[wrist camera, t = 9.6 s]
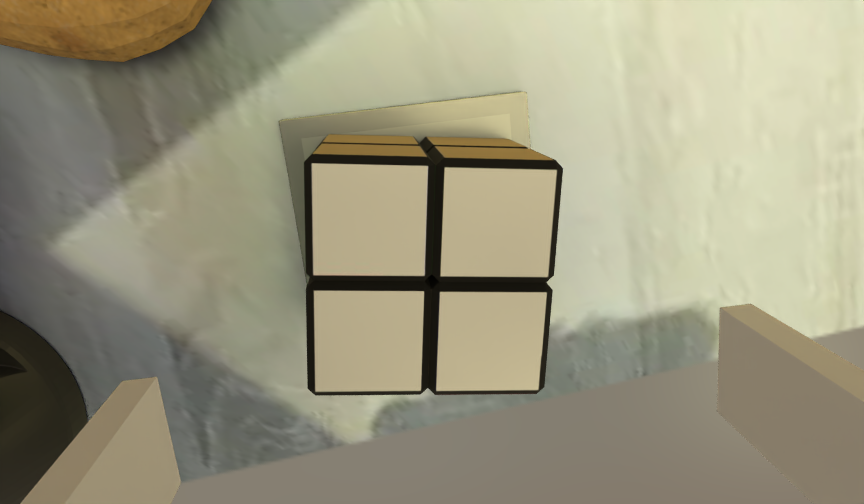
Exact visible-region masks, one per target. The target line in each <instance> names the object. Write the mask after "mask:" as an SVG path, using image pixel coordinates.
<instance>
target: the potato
mask: <svg viewBox="0 0 864 504" xmlns="http://www.w3.org/2000/svg"><path fill="white" fill-rule="evenodd" d="M211 1H212V0H0V44H2V45H6V46H11V47H15V48H20V49H24V50H29V51H33V52H38V53H42V54H47V55H54V56H61V57H69V58H76V59H88V60H102V61H116V62H124V61H127V60H130V59H133V58H136V57H139V56H142V55H145V54H147V53H150V52H153V51H156V50H159V49H161V48H163V47H165V46H167V45H168V44H170V43H171V42H173V41H175V40H176V39H178V38H180V37H181V36H183V35H185V34H186V33H188V32H190V31H191V30H193V29H195V27H196V25H197V24H198V22H199V21H200V19H201V17H202V16H203V14H204V13H205V11H206V9H207V8H208V6H209V5H210V3H211Z"/></svg>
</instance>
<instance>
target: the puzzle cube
mask: <svg viewBox="0 0 864 504" xmlns="http://www.w3.org/2000/svg"><path fill="white" fill-rule="evenodd" d="M562 173H563V168H562V167H561V166H560V165H559V164H558V162H557V161H556V160H554V159H552V158H550V157H547V156H545V155H543V154H541V153H538V152H536V151H534V150H532V149H528V148H527V147H526V146H524V145H521V144H519V143H517V142H514V141H512V140H510V139H503V138H461V137H425V138H424V139H423V140H422V141H421V142H420V143H419V142H418V141H417V140H416V139H415V138H414V137H413V136H379V135H338V134H329V135H328V136H326V137H325V138H324V139H323V140H322V142H321V143H320V144H319V145H318V147H317V148H316V149H315V151H314V152H313V153H312V154H311V155H310V156H309V157H308V158H307V159H306V160H305V161H304V204H305V262H306V274H307V275H308V276H309V277H310V278H309V281H308V284H307V287H306V316H307V374H308V389H309V390H310V391H311V392H312V393H313V394H315V395H413V394H421V393H422V392H424V391H425V390H426V389H427V388H429V389H430V390H431V391H432V392H433V393H434V394H435V395H462V394H537V393H538V392H539V391H540V390H541V389H543V388H544V384H545V373H546V361H547V349H548V337H549V326H550V314H551V302H552V289H551V288H550V286H549V285H548V284H547V283H546V282H547V281H548V280H549V279H550V278H551V277H552V276H554V267H555V255H556V243H557V232H558V220H559V208H560V197H561V185H562Z"/></svg>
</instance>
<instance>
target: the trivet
mask: <svg viewBox="0 0 864 504" xmlns="http://www.w3.org/2000/svg"><path fill="white" fill-rule="evenodd" d="M279 125H280V131H281V136H282V142H283V148H284V154H285V160H286V165H287V171H288V177H289V183H290V189H291V195H292V200H293V206H294V212H295V218H296V224H297V230H298V235H299V241H300V247H301V253H302V259H303V264H304V270H305V276H306V282H307V284H308V281H309V278H310V277H309V276H308V275H307V274H306V262H305V204H304V161H305V160H306V159H307V158H308V157H309V156H310V155H311V154H312V153H313V152H314V151H315V149H316V148H317V147H318V145H319V144H320V143H321V142H322V140H323V139H324V138H325V137H326V136H328V135H329V134H338V135H379V136H413V137H414V138H415V139H416V140H417V141H418V142H419V143H420V142H421V141H422V140H423V139H424V138H425V137H461V138H503V139H510V140H512V141H514V142H517V143H519V144H521V145H524V146H526V147H527V148H528V149H530V136H529V121H528V107H527V93H526V92H513V93H505V94H496V95H488V96H479V97H471V98H462V99H454V100H445V101H437V102H428V103H420V104H411V105H403V106H394V107H386V108H377V109H369V110H360V111H352V112H343V113H335V114H326V115H318V116H309V117H301V118H292V119H284V120H280V121H279Z"/></svg>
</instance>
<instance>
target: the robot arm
mask: <svg viewBox="0 0 864 504" xmlns="http://www.w3.org/2000/svg"><path fill="white" fill-rule="evenodd" d="M717 396H718V397H717V412H718V413H719V414H720V415H721V416H722V417H723V418H724V419H725V420H726V421H727V422H729V423H730V424H731V425H732V426H733V427H734V428H735V429H736V430H737V431H738V432H739V433H740V434H741V435H742V436H743V437H744V438H745V439H746V440H747V441H748V442H749V443H750V444H751V445H752V446H754V448H756V449H757V450H758V451H759V452H760V453H761V454H762V455H763V456H764V457H765V458H766V459H767V460H768V461H769V462H770V463H771V464H772V465H773V466H774V467H775V468H776V469H777V470H779V471H780V472H781V473H782V474H783V475H784V476H785V477H786V478H787V479H788V480H789V481H790V482H791V483H792V484H793V485H794V486H795V487H796V488H797V489H798V490H799V491H800V492H801V493H802V494H803V495H804V496H805V497H807V499H809V500H810V501H811V502H812V503H813V504H864V371H863V370H862V369H860V368H858V367H857V366H855V365H853V364H852V363H850V362H848V361H846V360H845V359H843V358H842V357H840V356H838V355H837V354H835V353H833V352H831V351H830V350H828V349H826V348H825V347H823V346H821V345H820V344H818V343H816V342H814V341H813V340H811V339H810V338H808V337H806V336H804V335H803V334H801V333H799V332H798V331H796V330H794V329H793V328H791V327H789V326H788V325H786V324H784V323H782V322H781V321H779V320H777V319H776V318H774V317H772V316H771V315H769V314H767V313H766V312H764V311H762V310H761V309H759V308H757V307H755V306H754V305H752V304H745V305H737V306H729V307H721V308H720V322H719V358H718V394H717ZM180 484H181V480H180V476H179V471H178V467H177V463H176V458H175V454H174V449H173V445H172V441H171V436H170V432H169V427H168V423H167V419H166V414H165V410H164V405H163V401H162V397H161V392H160V388H159V383H158V379H157V377H151V378H143V379H135V380H127V381H122V382H121V383H120V384H119V386H118V387H117V388H116V389H115V390H114V392H113V393H112V394H111V395H110V396H109V398H108V399H107V400H106V401H105V402H104V404H103V405H102V406H101V407H100V408H99V410H98V411H97V412H96V413H95V414H94V416H93V417H92V418H91V419H90V420H89V422H88V423H87V416H86V410H85V406H84V402H83V399H82V395H81V393H80V390H79V388H78V385H77V383H76V381H75V379H74V377H73V375H72V374H71V372H70V371H69V369H68V367H67V366H66V365H65V363H64V362H63V360H62V359H61V358H60V357H59V355H58V354H57V353H56V352H55V351H54V350H53V349H52V348H51V346H50V345H49V344H48V343H46V342H45V341H44V340H43V339H42V338H41V337H40V336H39V335H37V334H36V333H35V332H34V331H32V330H31V329H30V328H28V327H27V326H25V325H24V324H22V323H21V322H19V321H17V320H16V319H14V318H12V317H10V316H8V315H7V314H5V313H3V312H0V504H171V503H172V501H173V499H174V497H175V495H176V492H177V490H178V488H179V486H180Z"/></svg>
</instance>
